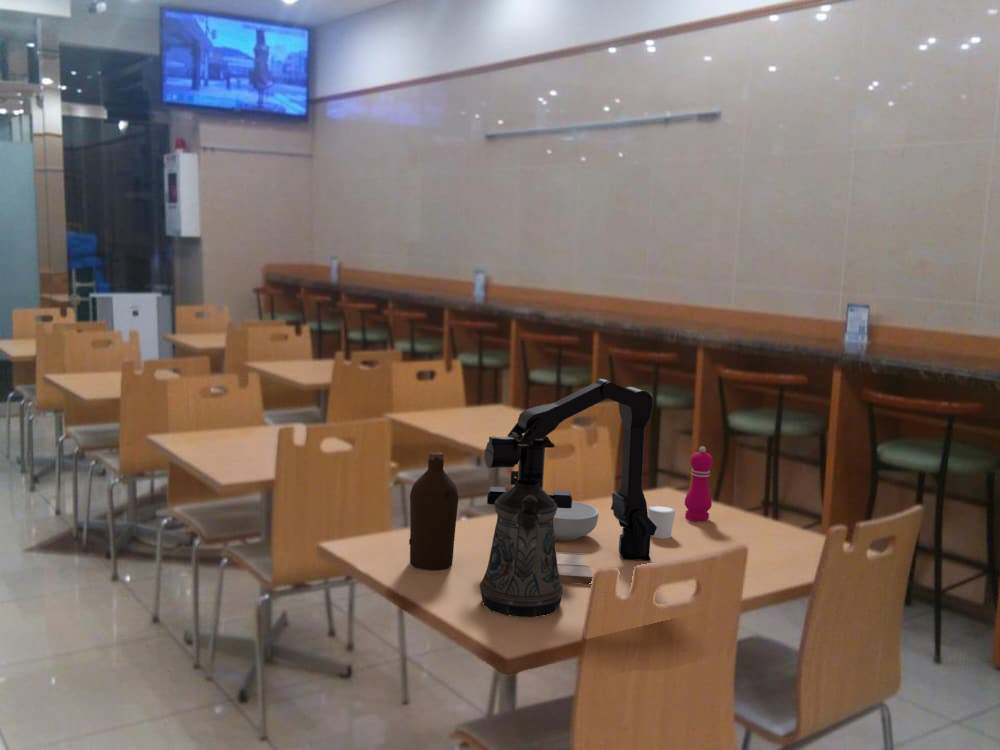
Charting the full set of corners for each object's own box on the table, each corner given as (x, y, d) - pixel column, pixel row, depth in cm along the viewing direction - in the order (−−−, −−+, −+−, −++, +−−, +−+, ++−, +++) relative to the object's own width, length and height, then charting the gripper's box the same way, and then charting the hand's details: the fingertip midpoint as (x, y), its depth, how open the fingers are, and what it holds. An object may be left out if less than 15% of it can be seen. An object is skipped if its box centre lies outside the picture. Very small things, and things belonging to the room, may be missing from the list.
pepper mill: (678, 515, 275) (684, 443, 272) (702, 514, 277) (708, 443, 275) (691, 522, 268) (697, 449, 266) (715, 522, 270) (721, 449, 268)
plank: (584, 560, 229) (584, 553, 228) (587, 572, 222) (587, 565, 221) (509, 556, 228) (510, 549, 228) (510, 568, 221) (510, 561, 221)
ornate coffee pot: (535, 585, 212) (542, 469, 209) (585, 617, 195) (594, 491, 192) (465, 594, 204) (471, 473, 201) (511, 628, 187) (519, 497, 184)
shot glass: (678, 538, 253) (680, 511, 252) (654, 540, 250) (657, 512, 249) (664, 530, 259) (666, 504, 258) (641, 532, 256) (643, 505, 256)
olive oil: (463, 561, 225) (468, 452, 222) (441, 574, 215) (447, 460, 212) (421, 553, 229) (426, 445, 226) (398, 565, 219) (403, 453, 216)
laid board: (589, 573, 221) (589, 566, 221) (592, 584, 214) (593, 576, 214) (507, 569, 221) (508, 562, 221) (508, 580, 214) (508, 572, 214)
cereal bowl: (514, 532, 250) (516, 504, 249) (562, 523, 261) (563, 496, 260) (563, 550, 238) (565, 521, 237) (610, 539, 249) (612, 511, 248)
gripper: (570, 461, 232) (566, 526, 234) (489, 456, 231) (485, 522, 233) (574, 472, 221) (569, 540, 223) (489, 467, 220) (485, 536, 222)
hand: (527, 534), depth 226 cm, fingers closed
